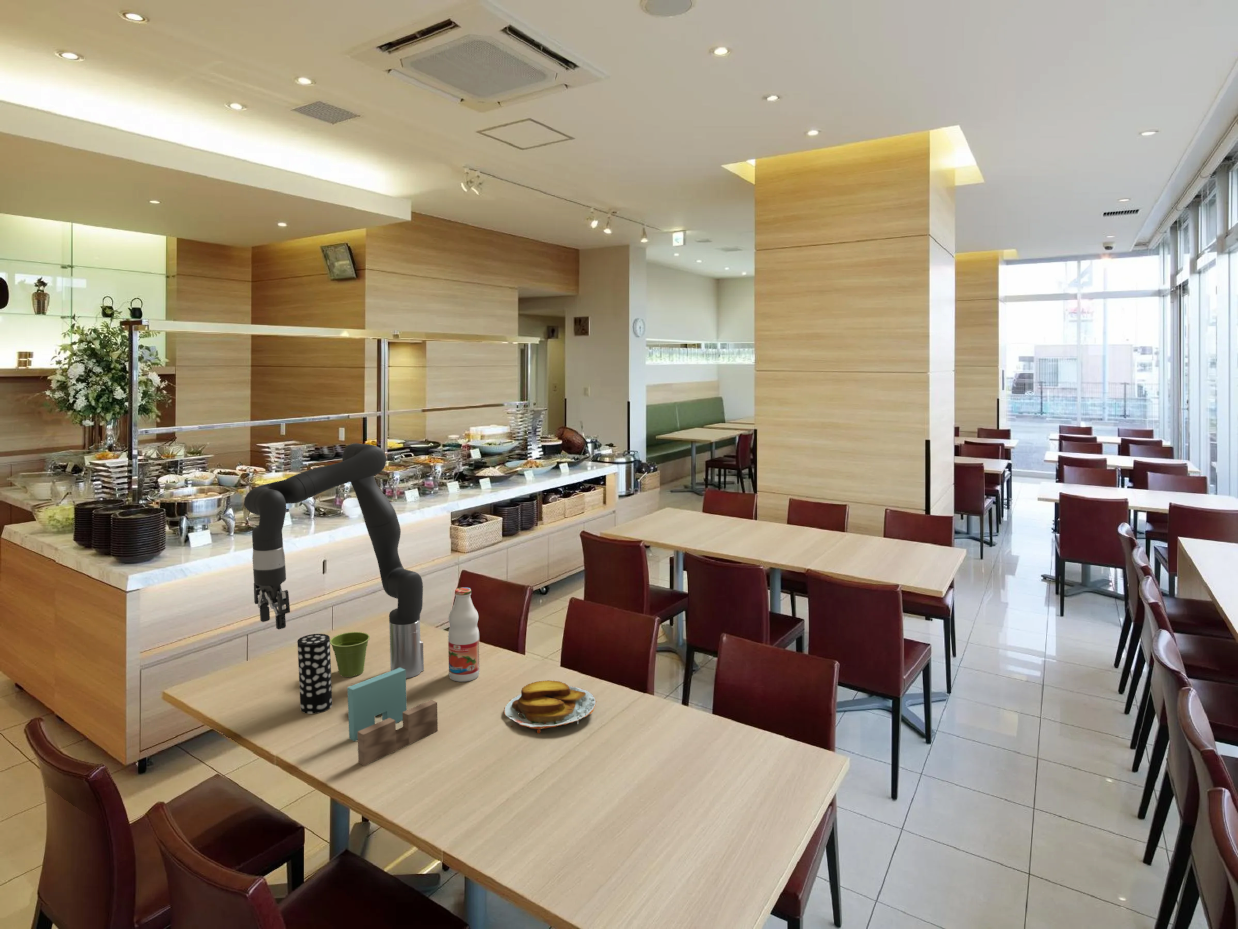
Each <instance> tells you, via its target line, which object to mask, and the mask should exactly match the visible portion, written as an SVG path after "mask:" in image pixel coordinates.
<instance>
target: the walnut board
mask: <svg viewBox="0 0 1238 929" xmlns="http://www.w3.org/2000/svg"><path fill="white" fill-rule="evenodd" d="M402 713H403V720H402V727H400V728H397V727H396V726H397V725H396V724H397V723H396V722H395V720H393V719H391V718H388V719H385V720H383V721H382V720H380V721H379V722H375V724H374V725H371V726H369V727H367V728H365V729H362V730H360V731H358V732H357V735H358V740H357V751H358V752H357V755H358V756H357V757H358V758H357V760H358V761H357V762H358V764H360V765H362V766H363V767H365V766H367V765H369V764H371V763H373V762H375V761H377V760H380V759H381V758H384V757H386V756H388V755H390V754H392V753H395V752H396V751H398V750H401V749H403V748H405V747H407V746H409V745H411V744H412V743H415V742H417V741H420V740H421V739H423V738H426V737H428V736H430V735H432V734H435V733H436V732H438V731H439V727H438V726H439V725H438V724H439V722H438V701H436V700H433V699H430V700H428V701H424V702H423V703H421V704H418V705H416V706H413V707H411V708H409V709H407V710H406V711H404V712H402Z"/></svg>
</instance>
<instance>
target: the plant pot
mask: <svg viewBox="0 0 1238 929" xmlns="http://www.w3.org/2000/svg"><path fill="white" fill-rule="evenodd" d="M370 639H371V635H370V634H369V633H366V632H362V631H350V632H343V633H340V634H337V635H335V636H333V637H332V638H330V646H331V647H332V650H333V652H334V656H335V662H336V665H337V666H336V667H337V669H338V670H337V671H338V672H339V673H338V674H339V675H340V676H341V677H343V678H354V677H355V676H359V675H362V674H363V673H364V671H365V664H366V663H365V662H366V655H367V648H368V645H369V640H370Z"/></svg>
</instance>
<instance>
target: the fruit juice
mask: <svg viewBox="0 0 1238 929" xmlns="http://www.w3.org/2000/svg"><path fill="white" fill-rule="evenodd" d="M454 595H455V599H454V602H453V606H452V608H451V610H450V611H449V613H448V618H447V619H448V624H449V629H448V635H447V637H448V638H447V639H448V640H447V643H448V648H447V649H448V677H449V678H450V680H451V681H454V682H458V683H464V682H470V681H473V680H475V679H477V678H478V677H479V675H480V631H479V627H478V621H479V613H478V611H477V609H476V607H475V606H474V604H473V600H472V598H471V595H472V589H471V587H458V588H456V589H455V590H454Z"/></svg>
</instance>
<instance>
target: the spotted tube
mask: <svg viewBox="0 0 1238 929" xmlns="http://www.w3.org/2000/svg"><path fill="white" fill-rule="evenodd" d="M330 640H331V637H330V635H329V634H325V633H312V634H307V635H304V636H301V637H299V639H297V658H298V659H297V660H298V661H297V663H298V664H297V665H298V680H299V681H298V682H299V683H298V684H299V701H300V703H299V707H300V712H301V713H304V714H308V715H312V714H320V713H324V712H326V711H328V710H329V709H331V708H332V707H333V688H332V687H333V686H332V685H333V684H332V683H333V682H332V666H331V665H332V661H331V644H330Z"/></svg>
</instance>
